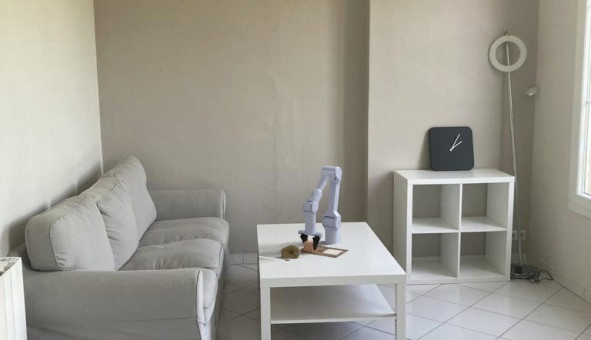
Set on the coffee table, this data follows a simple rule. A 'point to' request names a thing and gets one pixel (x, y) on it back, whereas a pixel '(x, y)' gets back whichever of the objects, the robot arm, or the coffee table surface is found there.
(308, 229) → the robot arm
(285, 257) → the fossil
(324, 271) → the coffee table surface
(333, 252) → the mat
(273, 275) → the coffee table surface
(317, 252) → the post board
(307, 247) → the salmon pink cube
